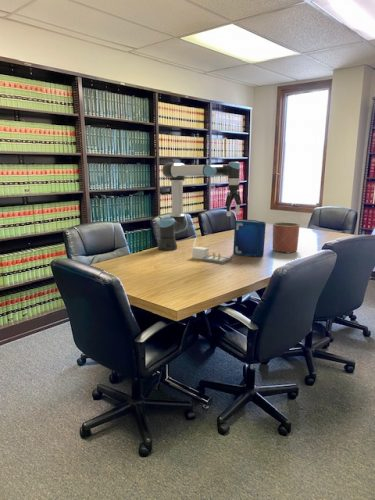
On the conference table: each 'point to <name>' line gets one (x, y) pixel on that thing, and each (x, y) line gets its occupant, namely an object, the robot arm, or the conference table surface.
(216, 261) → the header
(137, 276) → the conference table surface
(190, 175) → the robot arm
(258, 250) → the book
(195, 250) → the block
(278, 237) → the planter
